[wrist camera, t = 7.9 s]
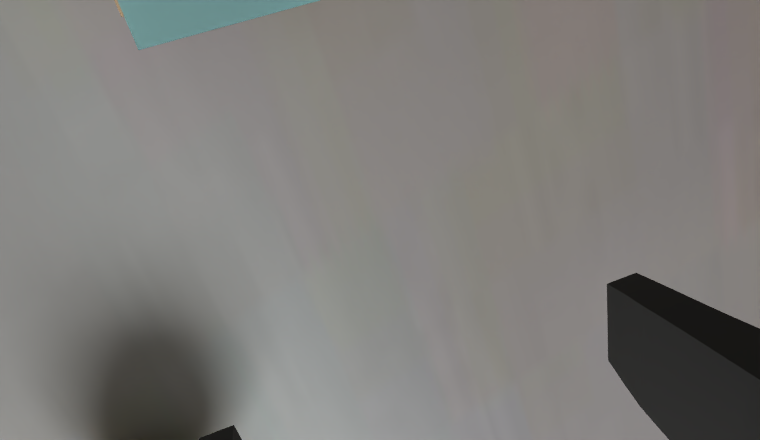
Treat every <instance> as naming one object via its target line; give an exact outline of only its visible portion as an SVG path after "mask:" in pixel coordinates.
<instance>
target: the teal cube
mask: <svg viewBox="0 0 760 440" xmlns="http://www.w3.org/2000/svg"><path fill="white" fill-rule="evenodd" d="M117 1H118V3H119V5H120V8H121V10H122V12H123V15H124V17H125V19H126V22H127V24H128V26H129V29H130V31H131V33H132V36H133V38H134V40H135V43H136V45H137V47H138V50H141V49H144V48H148V47H152V46H155V45H159V44H163V43H166V42H170V41H174V40H177V39H181V38H184V37H188V36H192V35H195V34H199V33H203V32H206V31H210V30H214V29H217V28H221V27H225V26H228V25H232V24H235V23H239V22H243V21H246V20H250V19H254V18H257V17H261V16H265V15H268V14H272V13H276V12H279V11H283V10H286V9H290V8H294V7H297V6H301V5H305V4H308V3H312V2H316V1H319V0H117Z"/></svg>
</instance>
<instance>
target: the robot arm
mask: <svg viewBox="0 0 760 440" xmlns="http://www.w3.org/2000/svg"><path fill="white" fill-rule="evenodd" d="M607 311H608V360H609V362H610V363H611V365H612V366H613V368H614V369H615V371H616V372H617V374H618V375H619V377H620V378H621V380H622V381H623V383H624V384H625V386H626V387H627V388H628V390H629V391H630V393H631V394H632V395H633V397H634V398H635V400H636V401H637V403H638V404H639V405H640V407H641V408H642V409H643V410H644V411H645V412H646V414H647V415H648V416H649V417H650V418H651V419H652V421H653V422H654V423H655V424H656V425H657V426H658V427H659V429H660V430H661V431H662V432H663V433H664V434H665V435H666V437H667V438H668V439H669V440H760V329H759V328H757V327H754V326H752V325H750V324H748V323H745V322H743V321H741V320H738V319H736V318H734V317H732V316H729V315H727V314H725V313H723V312H721V311H718V310H716V309H714V308H712V307H710V306H707V305H705V304H703V303H701V302H699V301H697V300H694V299H692V298H690V297H688V296H686V295H684V294H681V293H679V292H677V291H675V290H673V289H671V288H668V287H666V286H664V285H662V284H660V283H658V282H655V281H653V280H651V279H649V278H647V277H644V276H642V275H640V274H637V273H635V274H632V275H629V276H627V277H624V278H621V279H619V280H616V281H614V282H611V283H608V284H607ZM199 440H242V439H241V437H240V436H239V434H238V432H237V430H236V428H235V426H234V425H233V426H230V427H227V428H225V429H222V430H220V431H217V432H214V433H212V434H209V435H206V436H204V437H201V438H199Z"/></svg>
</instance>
